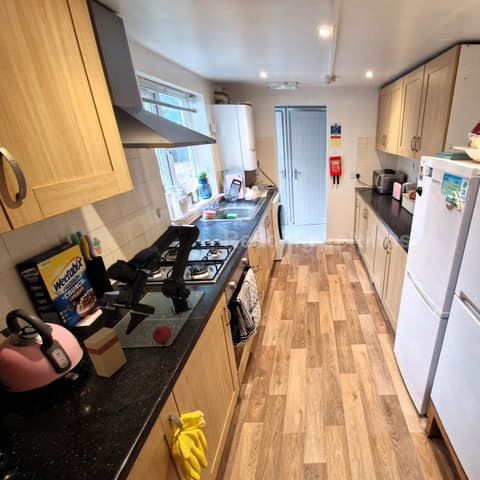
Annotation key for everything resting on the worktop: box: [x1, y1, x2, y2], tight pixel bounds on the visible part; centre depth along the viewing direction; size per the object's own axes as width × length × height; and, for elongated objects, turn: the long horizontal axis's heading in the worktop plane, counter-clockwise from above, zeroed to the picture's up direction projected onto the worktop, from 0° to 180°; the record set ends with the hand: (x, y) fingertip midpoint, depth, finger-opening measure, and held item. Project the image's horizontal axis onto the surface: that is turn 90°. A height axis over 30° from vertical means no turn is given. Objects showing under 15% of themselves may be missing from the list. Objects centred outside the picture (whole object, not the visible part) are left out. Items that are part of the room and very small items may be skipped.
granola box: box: [83, 326, 127, 378], centre depth 85 cm, size 4×7×14 cm
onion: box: [152, 323, 172, 344], centre depth 97 cm, size 6×6×8 cm
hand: (115, 332), depth 88 cm, fingers open, 9 cm apart
